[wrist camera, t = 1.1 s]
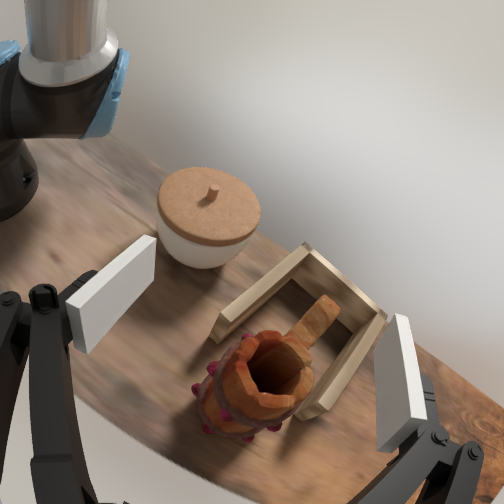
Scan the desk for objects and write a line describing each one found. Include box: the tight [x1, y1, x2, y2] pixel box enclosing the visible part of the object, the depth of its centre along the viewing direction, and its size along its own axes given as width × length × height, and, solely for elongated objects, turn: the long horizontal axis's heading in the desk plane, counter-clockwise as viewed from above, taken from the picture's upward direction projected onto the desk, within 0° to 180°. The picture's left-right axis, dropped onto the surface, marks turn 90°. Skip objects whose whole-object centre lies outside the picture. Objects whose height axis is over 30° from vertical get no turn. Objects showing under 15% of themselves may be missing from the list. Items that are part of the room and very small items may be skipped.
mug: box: [192, 295, 341, 442], centre depth 28 cm, size 15×8×15 cm, turn 138°
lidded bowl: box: [156, 167, 261, 269], centre depth 41 cm, size 13×13×11 cm
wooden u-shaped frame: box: [209, 242, 388, 422], centre depth 38 cm, size 15×16×6 cm
